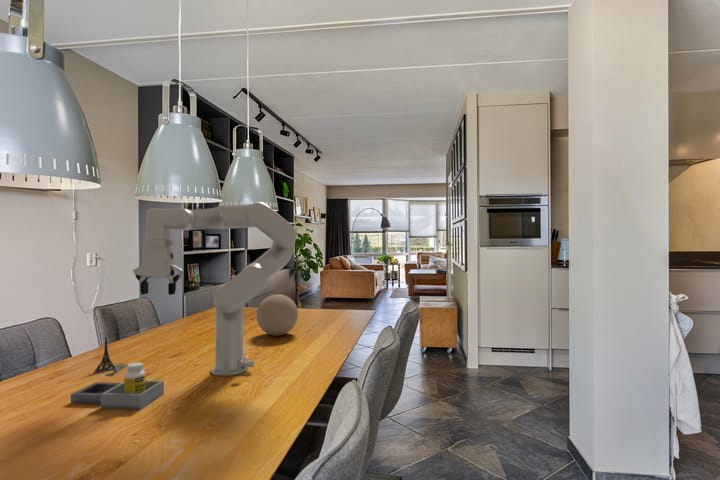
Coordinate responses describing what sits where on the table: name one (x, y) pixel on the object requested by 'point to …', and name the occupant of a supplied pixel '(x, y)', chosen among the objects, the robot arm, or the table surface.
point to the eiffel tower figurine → (108, 363)
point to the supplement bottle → (134, 379)
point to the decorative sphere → (277, 314)
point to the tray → (131, 396)
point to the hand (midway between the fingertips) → (158, 294)
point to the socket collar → (91, 393)
